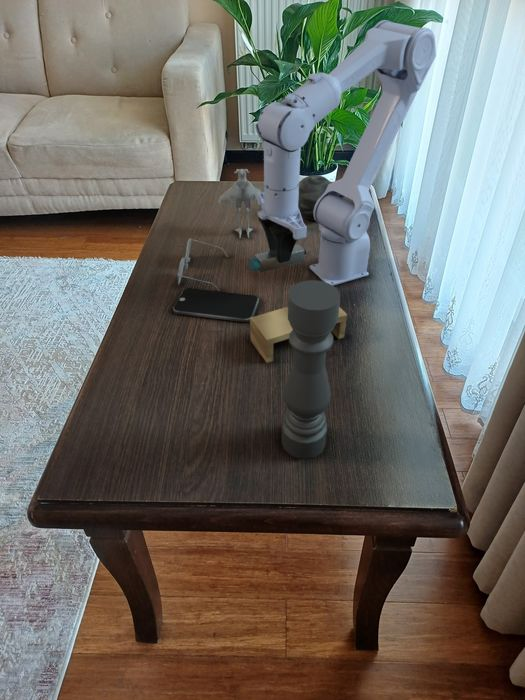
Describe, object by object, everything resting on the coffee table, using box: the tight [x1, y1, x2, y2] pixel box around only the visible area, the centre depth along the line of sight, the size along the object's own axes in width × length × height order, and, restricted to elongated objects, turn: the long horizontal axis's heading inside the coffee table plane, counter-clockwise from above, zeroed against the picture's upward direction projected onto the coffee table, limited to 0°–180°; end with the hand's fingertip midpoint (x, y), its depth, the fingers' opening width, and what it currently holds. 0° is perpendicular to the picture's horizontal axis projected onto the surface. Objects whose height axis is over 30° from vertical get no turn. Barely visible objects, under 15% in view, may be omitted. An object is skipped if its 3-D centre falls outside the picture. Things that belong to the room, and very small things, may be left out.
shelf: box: [249, 306, 348, 364], centre depth 89 cm, size 15×6×5 cm, turn 116°
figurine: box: [217, 168, 263, 239], centre depth 113 cm, size 11×4×15 cm, turn 93°
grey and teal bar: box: [248, 243, 307, 273], centre depth 94 cm, size 11×2×2 cm, turn 115°
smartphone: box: [172, 287, 260, 323], centre depth 97 cm, size 8×1×15 cm
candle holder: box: [281, 279, 341, 460], centre depth 65 cm, size 6×6×25 cm
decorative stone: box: [298, 174, 332, 221], centre depth 121 cm, size 10×10×10 cm
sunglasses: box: [177, 237, 229, 292], centre depth 105 cm, size 14×8×5 cm, turn 176°
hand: (280, 256), depth 94 cm, fingers closed on grey and teal bar, 2 cm apart
